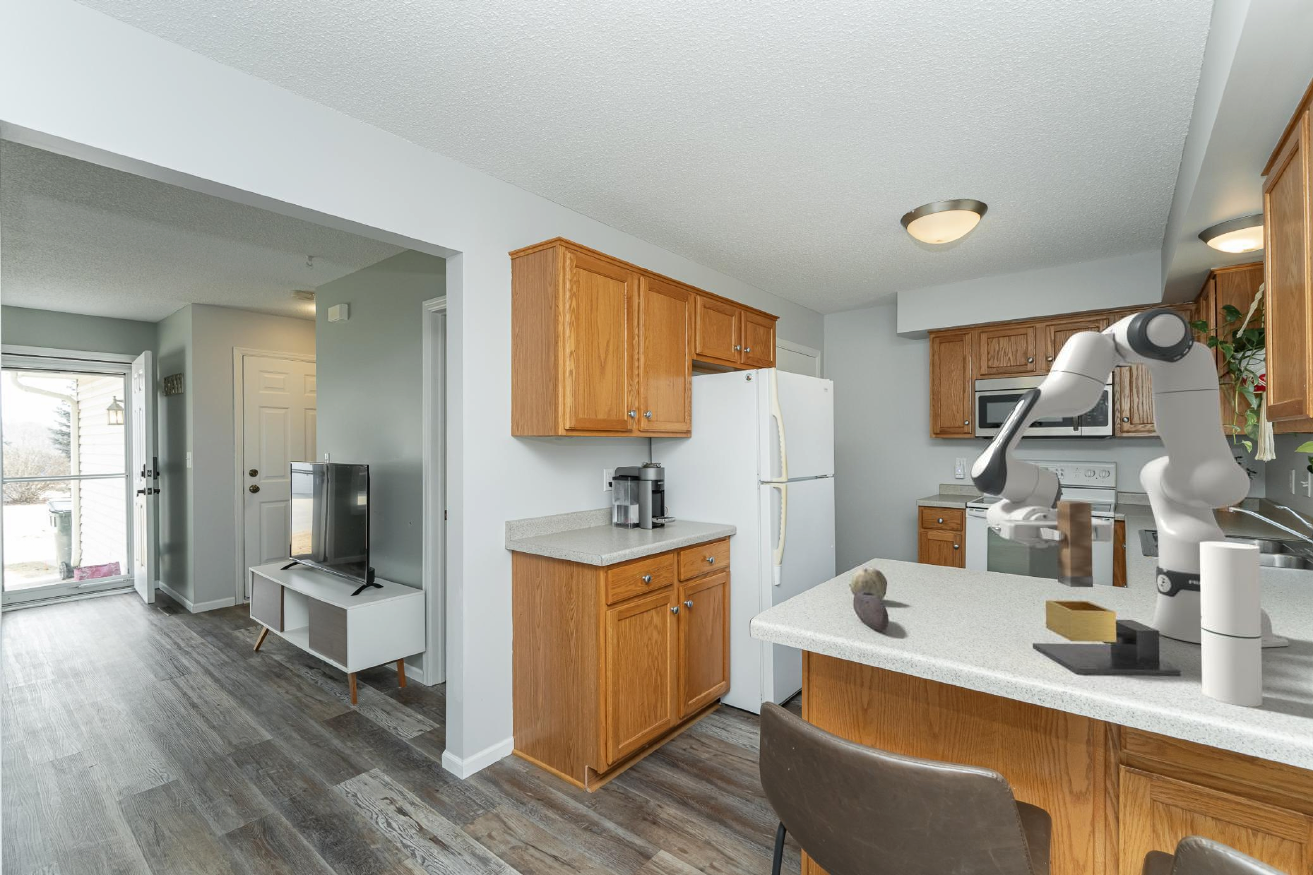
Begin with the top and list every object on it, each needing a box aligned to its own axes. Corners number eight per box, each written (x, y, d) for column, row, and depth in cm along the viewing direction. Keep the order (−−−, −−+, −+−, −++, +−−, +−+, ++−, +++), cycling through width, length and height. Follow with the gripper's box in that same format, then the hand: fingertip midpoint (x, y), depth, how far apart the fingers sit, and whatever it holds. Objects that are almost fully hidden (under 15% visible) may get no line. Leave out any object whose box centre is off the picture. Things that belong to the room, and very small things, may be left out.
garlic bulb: (885, 611, 159) (899, 577, 157) (864, 610, 155) (877, 575, 153) (860, 593, 167) (872, 560, 165) (838, 591, 163) (851, 558, 161)
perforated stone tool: (896, 636, 131) (895, 604, 131) (871, 636, 131) (871, 604, 131) (873, 616, 146) (873, 588, 146) (851, 616, 146) (851, 588, 146)
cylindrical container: (1260, 696, 99) (1257, 544, 99) (1264, 710, 94) (1261, 550, 94) (1201, 684, 104) (1199, 540, 104) (1202, 698, 99) (1199, 545, 99)
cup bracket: (1124, 649, 122) (1123, 597, 122) (1180, 676, 108) (1179, 617, 108) (1032, 648, 123) (1032, 596, 123) (1076, 674, 109) (1075, 616, 109)
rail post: (1079, 582, 119) (1078, 501, 119) (1093, 587, 115) (1091, 503, 115) (1057, 582, 119) (1056, 501, 119) (1070, 586, 115) (1069, 503, 115)
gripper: (987, 511, 131) (1021, 519, 117) (1085, 511, 129) (1131, 520, 116) (987, 540, 131) (1021, 552, 117) (1085, 541, 129) (1132, 552, 115)
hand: (1077, 536), depth 116 cm, fingers closed on rail post, 4 cm apart
